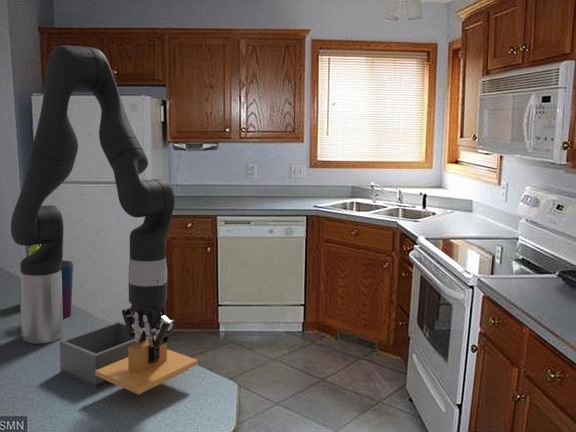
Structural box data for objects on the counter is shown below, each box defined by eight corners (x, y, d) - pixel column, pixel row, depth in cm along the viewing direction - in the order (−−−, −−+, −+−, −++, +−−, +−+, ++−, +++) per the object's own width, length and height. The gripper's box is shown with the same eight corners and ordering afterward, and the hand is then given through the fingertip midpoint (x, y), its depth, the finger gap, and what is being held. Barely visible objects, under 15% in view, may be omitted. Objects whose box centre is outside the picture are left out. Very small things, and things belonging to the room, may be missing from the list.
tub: (60, 371, 123) (59, 341, 122) (119, 348, 136) (118, 321, 135) (95, 387, 116) (95, 355, 115) (153, 362, 130) (153, 333, 128)
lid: (95, 380, 112) (94, 346, 111) (156, 354, 126) (156, 324, 125) (137, 399, 106) (137, 363, 105) (197, 369, 119) (198, 337, 118)
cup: (65, 321, 152) (63, 267, 150) (42, 318, 154) (41, 265, 151) (79, 312, 159) (78, 261, 156) (57, 310, 160) (56, 259, 158)
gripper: (109, 276, 113) (110, 357, 116) (158, 290, 106) (158, 376, 108) (138, 269, 119) (138, 346, 122) (186, 281, 112) (185, 363, 115)
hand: (148, 360), depth 115 cm, fingers closed on lid, 2 cm apart
